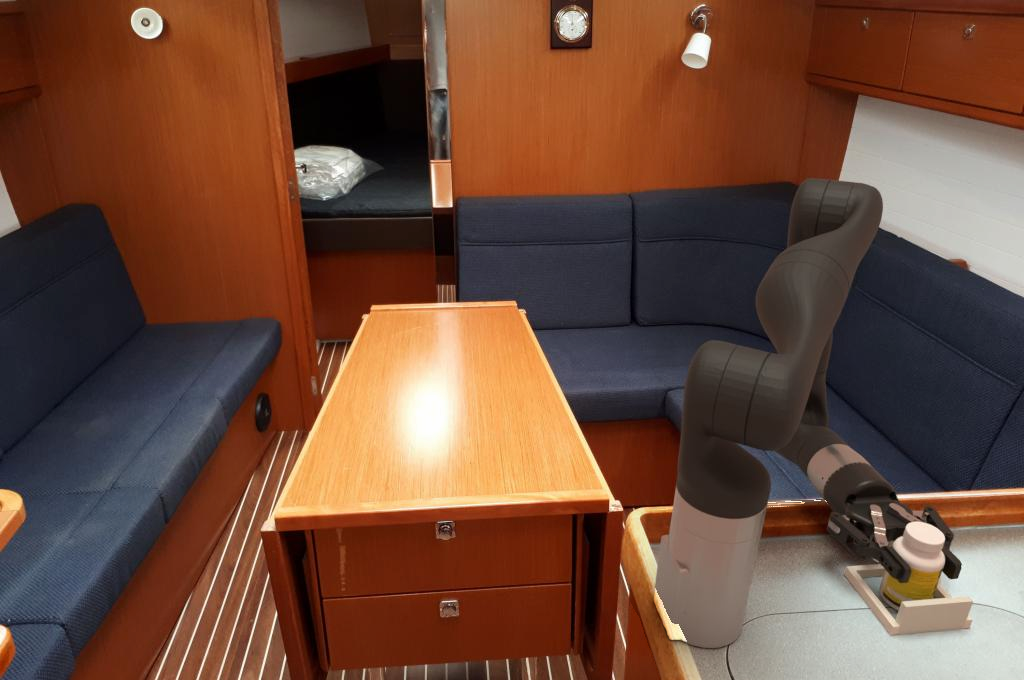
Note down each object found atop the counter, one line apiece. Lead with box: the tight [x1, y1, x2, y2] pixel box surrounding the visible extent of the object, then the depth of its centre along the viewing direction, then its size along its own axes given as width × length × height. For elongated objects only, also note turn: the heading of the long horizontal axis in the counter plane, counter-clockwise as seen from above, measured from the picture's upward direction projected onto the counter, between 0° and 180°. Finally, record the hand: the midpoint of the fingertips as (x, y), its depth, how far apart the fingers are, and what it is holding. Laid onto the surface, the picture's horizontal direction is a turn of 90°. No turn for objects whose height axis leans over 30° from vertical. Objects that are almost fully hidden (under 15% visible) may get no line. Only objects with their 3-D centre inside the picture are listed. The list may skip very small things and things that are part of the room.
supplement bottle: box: [879, 522, 945, 611], centre depth 85 cm, size 5×5×10 cm
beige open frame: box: [843, 563, 974, 636], centre depth 86 cm, size 10×10×4 cm
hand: (931, 574), depth 82 cm, fingers closed on supplement bottle, 5 cm apart
